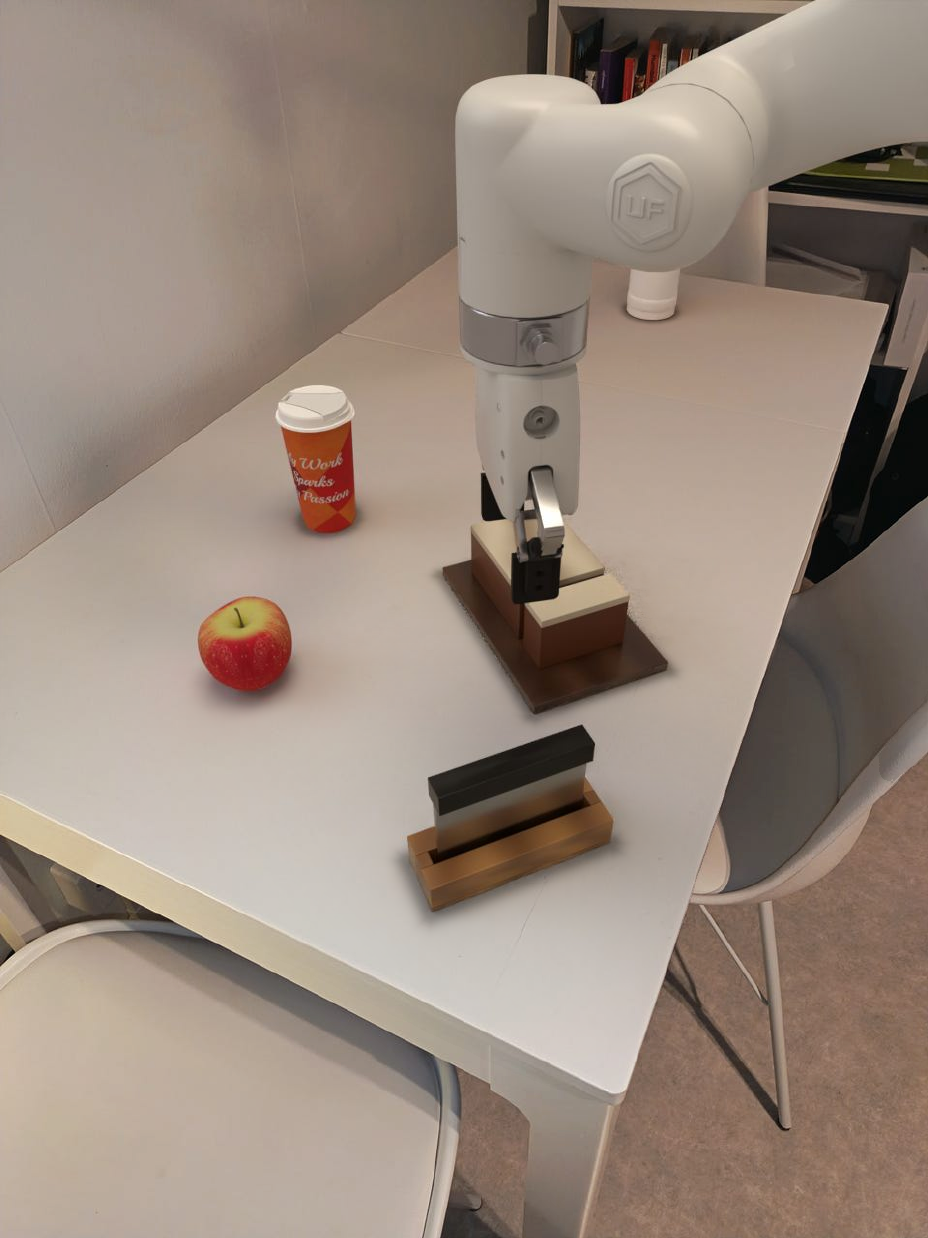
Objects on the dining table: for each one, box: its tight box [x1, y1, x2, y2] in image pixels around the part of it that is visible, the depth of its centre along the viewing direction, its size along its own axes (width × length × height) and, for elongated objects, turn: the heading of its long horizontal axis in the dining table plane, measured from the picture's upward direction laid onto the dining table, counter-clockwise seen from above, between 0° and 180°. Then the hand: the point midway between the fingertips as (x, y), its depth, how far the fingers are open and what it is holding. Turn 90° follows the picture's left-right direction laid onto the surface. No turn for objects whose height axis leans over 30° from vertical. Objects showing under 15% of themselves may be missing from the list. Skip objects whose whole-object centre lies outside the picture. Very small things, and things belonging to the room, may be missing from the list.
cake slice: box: [523, 573, 631, 669], centre depth 83 cm, size 9×4×6 cm, turn 113°
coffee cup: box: [275, 384, 356, 534], centre depth 98 cm, size 8×8×15 cm
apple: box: [197, 596, 293, 692], centre depth 80 cm, size 8×8×10 cm
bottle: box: [626, 269, 681, 321], centre depth 135 cm, size 8×8×30 cm
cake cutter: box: [427, 724, 596, 863], centre depth 65 cm, size 12×2×10 cm, turn 113°
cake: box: [441, 508, 669, 714], centre depth 87 cm, size 14×22×7 cm, turn 23°
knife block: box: [406, 776, 615, 912], centre depth 68 cm, size 15×5×3 cm, turn 113°
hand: (517, 555), depth 63 cm, fingers open, 9 cm apart
